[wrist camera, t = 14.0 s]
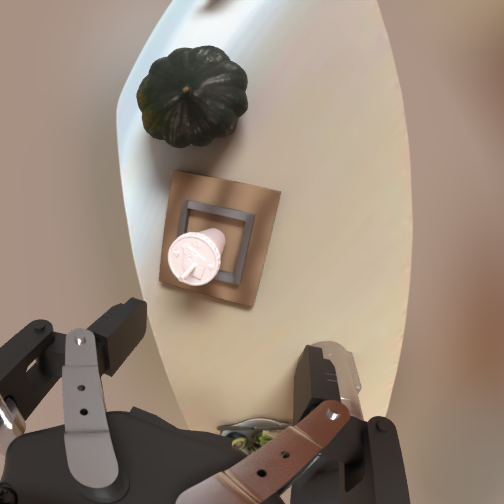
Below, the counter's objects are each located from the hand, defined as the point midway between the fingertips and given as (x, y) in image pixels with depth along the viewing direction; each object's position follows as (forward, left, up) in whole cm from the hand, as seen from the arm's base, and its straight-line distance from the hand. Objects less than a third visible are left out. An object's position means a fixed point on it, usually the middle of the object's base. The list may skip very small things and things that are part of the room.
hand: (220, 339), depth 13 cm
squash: (+13, -16, -30) cm, 37 cm away
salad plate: (-10, +50, -31) cm, 60 cm away
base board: (+7, +4, -30) cm, 31 cm away
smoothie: (+7, +4, -28) cm, 29 cm away
